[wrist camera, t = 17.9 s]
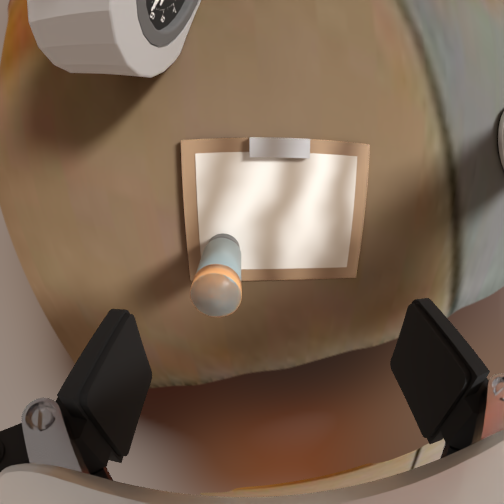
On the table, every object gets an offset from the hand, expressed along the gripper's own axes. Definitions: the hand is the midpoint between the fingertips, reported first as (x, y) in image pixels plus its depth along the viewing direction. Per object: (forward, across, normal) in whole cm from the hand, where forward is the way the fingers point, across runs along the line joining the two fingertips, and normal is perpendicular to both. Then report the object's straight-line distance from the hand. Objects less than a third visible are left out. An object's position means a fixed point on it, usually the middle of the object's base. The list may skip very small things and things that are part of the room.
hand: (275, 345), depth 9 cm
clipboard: (+23, -2, +2) cm, 23 cm away
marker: (+22, +4, +6) cm, 23 cm away
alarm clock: (+23, +9, -24) cm, 34 cm away
